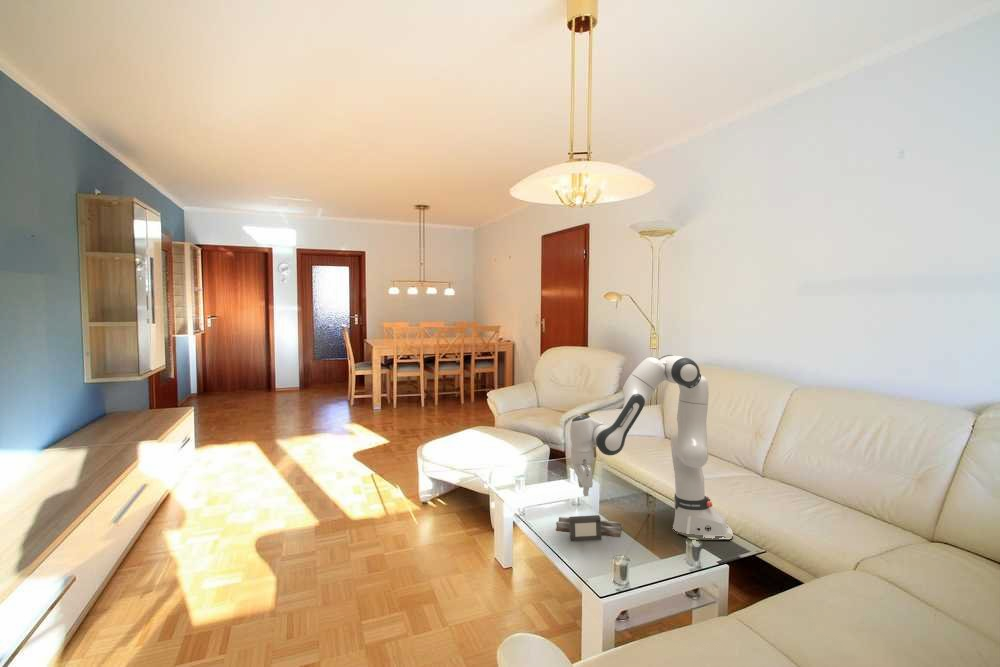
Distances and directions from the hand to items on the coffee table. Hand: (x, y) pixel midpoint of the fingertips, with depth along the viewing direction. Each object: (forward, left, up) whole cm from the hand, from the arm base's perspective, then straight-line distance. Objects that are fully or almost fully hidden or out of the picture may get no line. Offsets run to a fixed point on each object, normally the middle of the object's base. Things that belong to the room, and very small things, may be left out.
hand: (583, 491), depth 192 cm
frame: (0, 0, -19) cm, 19 cm away
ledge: (0, -9, -19) cm, 21 cm away
